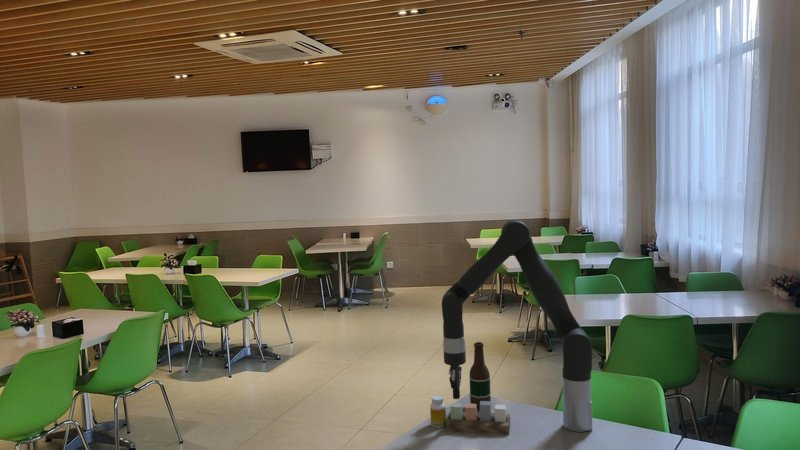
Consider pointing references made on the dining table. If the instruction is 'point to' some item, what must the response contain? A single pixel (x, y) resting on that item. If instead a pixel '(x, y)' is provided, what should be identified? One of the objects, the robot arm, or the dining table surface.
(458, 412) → the key sage
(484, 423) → the brown wooden slotted tray
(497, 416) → the key ivory
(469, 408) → the salmon pink block
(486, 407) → the key slate
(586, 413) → the robot arm
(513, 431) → the dining table surface
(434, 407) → the supplement bottle
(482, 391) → the beer bottle
